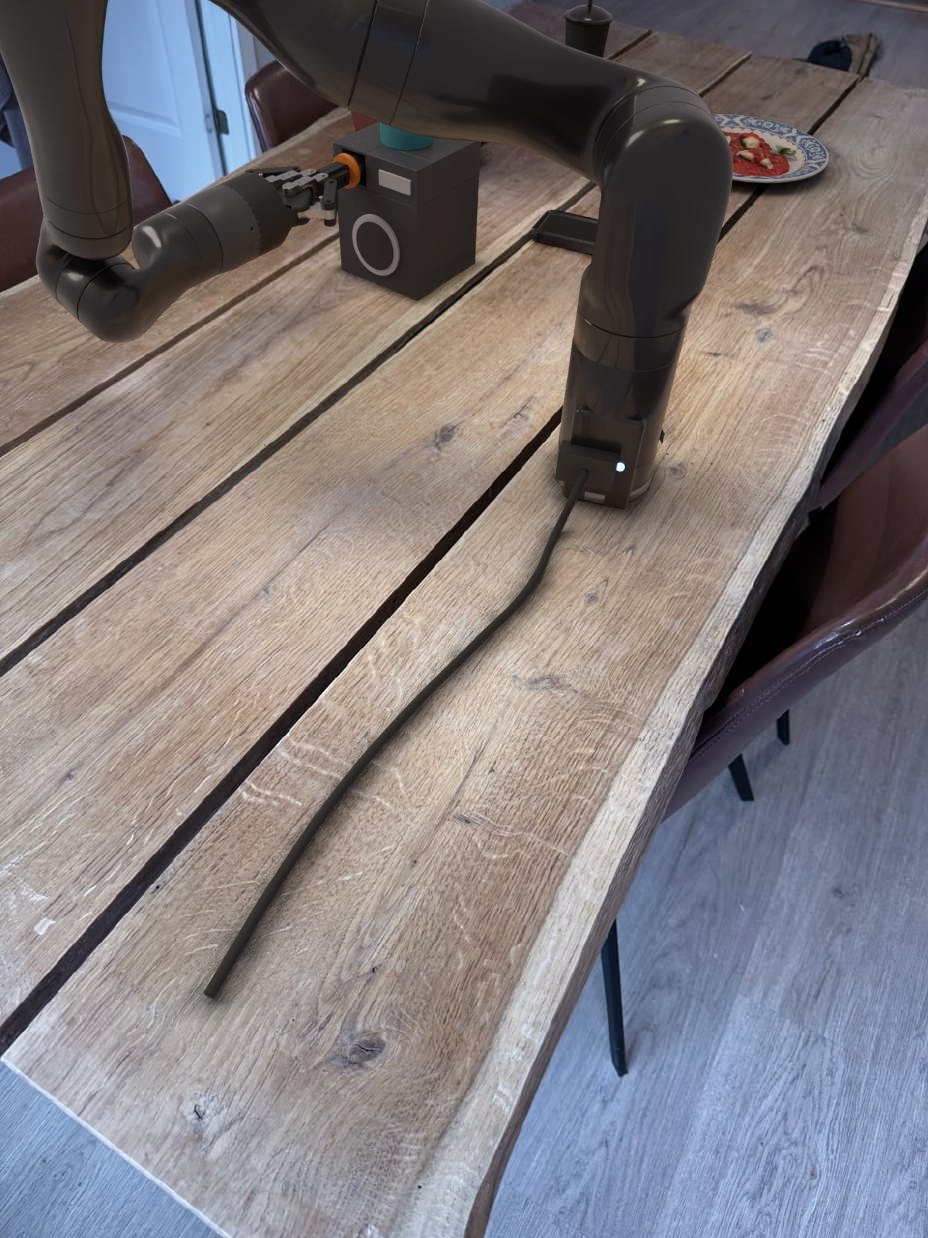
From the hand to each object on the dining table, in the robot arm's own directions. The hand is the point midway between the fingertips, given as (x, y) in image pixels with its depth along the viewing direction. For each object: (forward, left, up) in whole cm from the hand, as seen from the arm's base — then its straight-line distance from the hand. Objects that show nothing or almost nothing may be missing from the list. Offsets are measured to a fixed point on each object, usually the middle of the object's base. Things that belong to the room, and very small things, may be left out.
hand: (344, 171), depth 101 cm
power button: (+2, -1, -2) cm, 3 cm away
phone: (+21, -26, -13) cm, 36 cm away
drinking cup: (+68, -15, -13) cm, 71 cm away
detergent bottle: (+6, -5, +2) cm, 8 cm away
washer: (+6, -5, -13) cm, 15 cm away
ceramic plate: (+56, -43, -13) cm, 72 cm away
